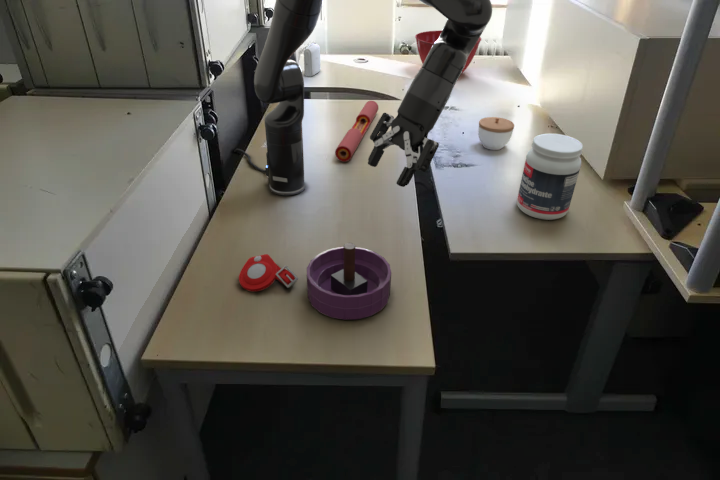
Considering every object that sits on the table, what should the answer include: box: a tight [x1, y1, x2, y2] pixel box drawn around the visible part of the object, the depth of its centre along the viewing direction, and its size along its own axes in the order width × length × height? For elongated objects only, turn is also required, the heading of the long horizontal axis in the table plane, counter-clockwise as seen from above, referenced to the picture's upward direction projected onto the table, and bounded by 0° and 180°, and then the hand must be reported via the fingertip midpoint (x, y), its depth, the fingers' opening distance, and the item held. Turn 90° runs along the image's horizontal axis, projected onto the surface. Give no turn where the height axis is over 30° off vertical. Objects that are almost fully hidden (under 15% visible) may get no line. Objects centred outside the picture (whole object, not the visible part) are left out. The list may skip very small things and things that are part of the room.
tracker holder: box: [238, 253, 299, 293], centre depth 108 cm, size 12×4×10 cm
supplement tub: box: [516, 132, 584, 221], centre depth 130 cm, size 13×13×18 cm
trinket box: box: [477, 116, 515, 151], centre depth 166 cm, size 11×11×9 cm
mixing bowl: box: [414, 30, 482, 74], centre depth 233 cm, size 28×28×16 cm
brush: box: [331, 242, 368, 295], centre depth 102 cm, size 6×4×11 cm
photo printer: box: [303, 43, 321, 77], centre depth 228 cm, size 10×4×12 cm, turn 160°
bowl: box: [306, 246, 392, 320], centre depth 104 cm, size 16×16×6 cm
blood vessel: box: [334, 100, 379, 163], centre depth 172 cm, size 42×5×5 cm, turn 167°
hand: (385, 175), depth 103 cm, fingers open, 8 cm apart
